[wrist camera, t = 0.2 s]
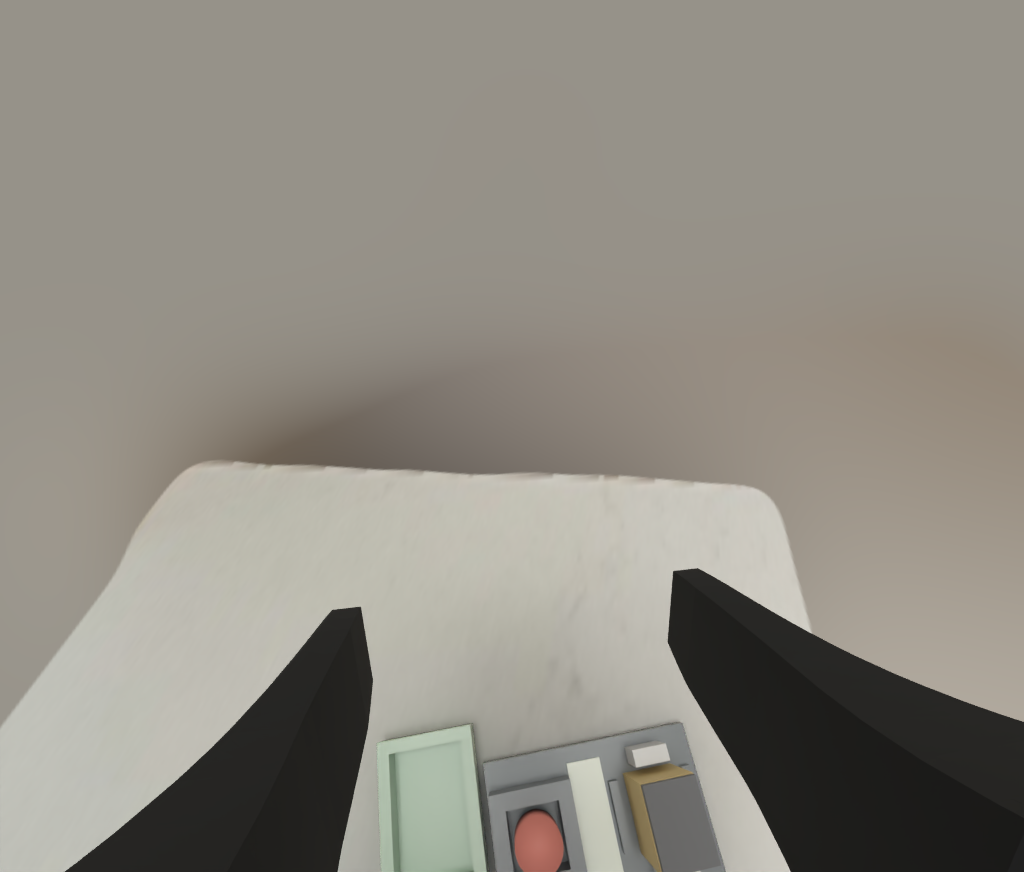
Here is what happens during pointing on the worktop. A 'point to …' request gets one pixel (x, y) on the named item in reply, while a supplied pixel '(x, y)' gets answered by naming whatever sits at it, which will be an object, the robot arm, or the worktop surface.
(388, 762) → the trough
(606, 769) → the cradle
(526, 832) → the test button
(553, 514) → the worktop surface
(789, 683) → the robot arm
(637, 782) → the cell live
